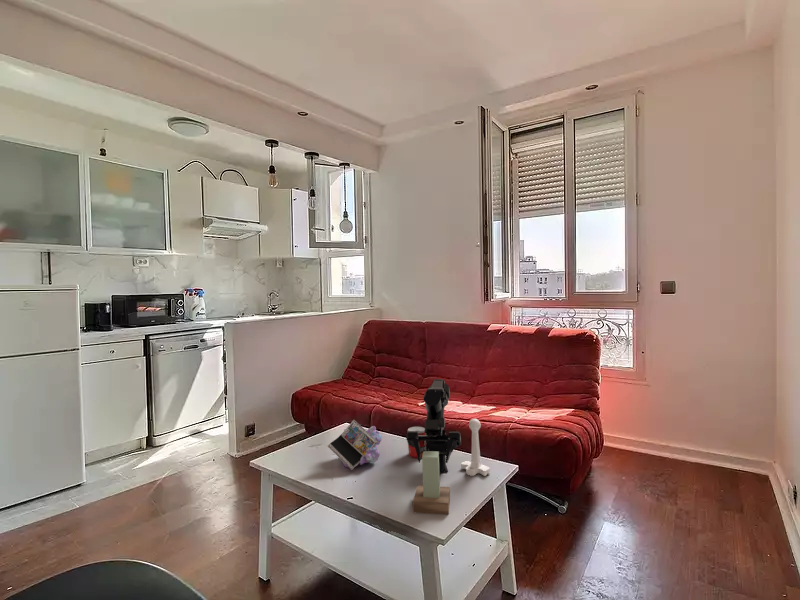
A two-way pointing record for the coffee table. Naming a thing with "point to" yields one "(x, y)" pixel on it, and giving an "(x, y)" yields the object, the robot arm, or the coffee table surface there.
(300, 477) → the coffee table surface
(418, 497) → the base block
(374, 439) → the colorful box
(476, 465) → the joystick
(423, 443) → the canned food
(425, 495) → the post
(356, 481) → the coffee table surface
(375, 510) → the coffee table surface
